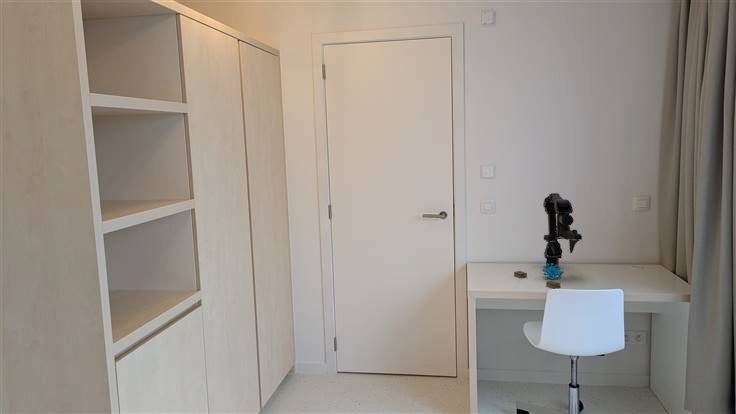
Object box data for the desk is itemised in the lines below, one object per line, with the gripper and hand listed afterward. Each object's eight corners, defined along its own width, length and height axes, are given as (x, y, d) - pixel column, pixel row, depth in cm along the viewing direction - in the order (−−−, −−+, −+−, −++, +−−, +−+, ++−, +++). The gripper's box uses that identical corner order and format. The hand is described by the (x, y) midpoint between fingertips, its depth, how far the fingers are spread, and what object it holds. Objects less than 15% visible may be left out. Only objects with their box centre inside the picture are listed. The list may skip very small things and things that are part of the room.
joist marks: (519, 275, 299) (519, 270, 299) (560, 287, 274) (560, 282, 273) (514, 276, 298) (514, 271, 297) (554, 289, 272) (554, 284, 272)
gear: (542, 277, 288) (543, 261, 294) (540, 282, 293) (540, 266, 298) (564, 280, 286) (564, 264, 292) (561, 285, 291) (561, 269, 296)
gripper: (553, 226, 276) (553, 256, 277) (587, 224, 279) (587, 254, 280) (543, 224, 287) (543, 253, 288) (576, 222, 290) (576, 251, 291)
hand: (562, 253), depth 287 cm, fingers open, 9 cm apart
